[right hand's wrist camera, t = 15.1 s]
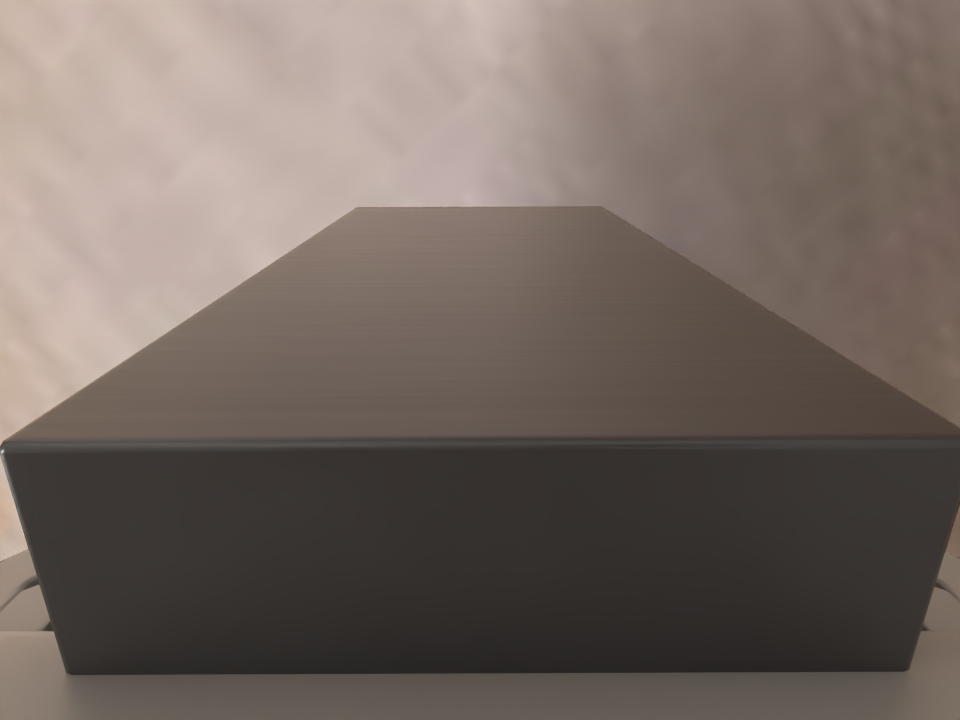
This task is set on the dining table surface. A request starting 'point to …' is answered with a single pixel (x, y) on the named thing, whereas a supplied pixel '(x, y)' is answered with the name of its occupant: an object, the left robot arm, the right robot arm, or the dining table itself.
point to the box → (485, 470)
